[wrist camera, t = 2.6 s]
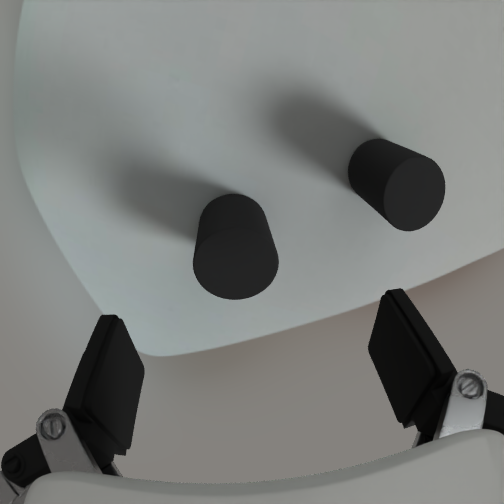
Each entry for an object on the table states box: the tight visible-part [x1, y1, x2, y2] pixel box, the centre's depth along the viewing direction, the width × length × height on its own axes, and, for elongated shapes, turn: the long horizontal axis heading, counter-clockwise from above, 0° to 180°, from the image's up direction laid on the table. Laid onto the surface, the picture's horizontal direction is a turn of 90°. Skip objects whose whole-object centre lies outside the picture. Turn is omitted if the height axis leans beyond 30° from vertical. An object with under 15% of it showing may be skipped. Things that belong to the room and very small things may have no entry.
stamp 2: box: [348, 139, 445, 231], centre depth 15 cm, size 4×4×4 cm
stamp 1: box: [193, 194, 279, 300], centre depth 16 cm, size 4×4×4 cm
